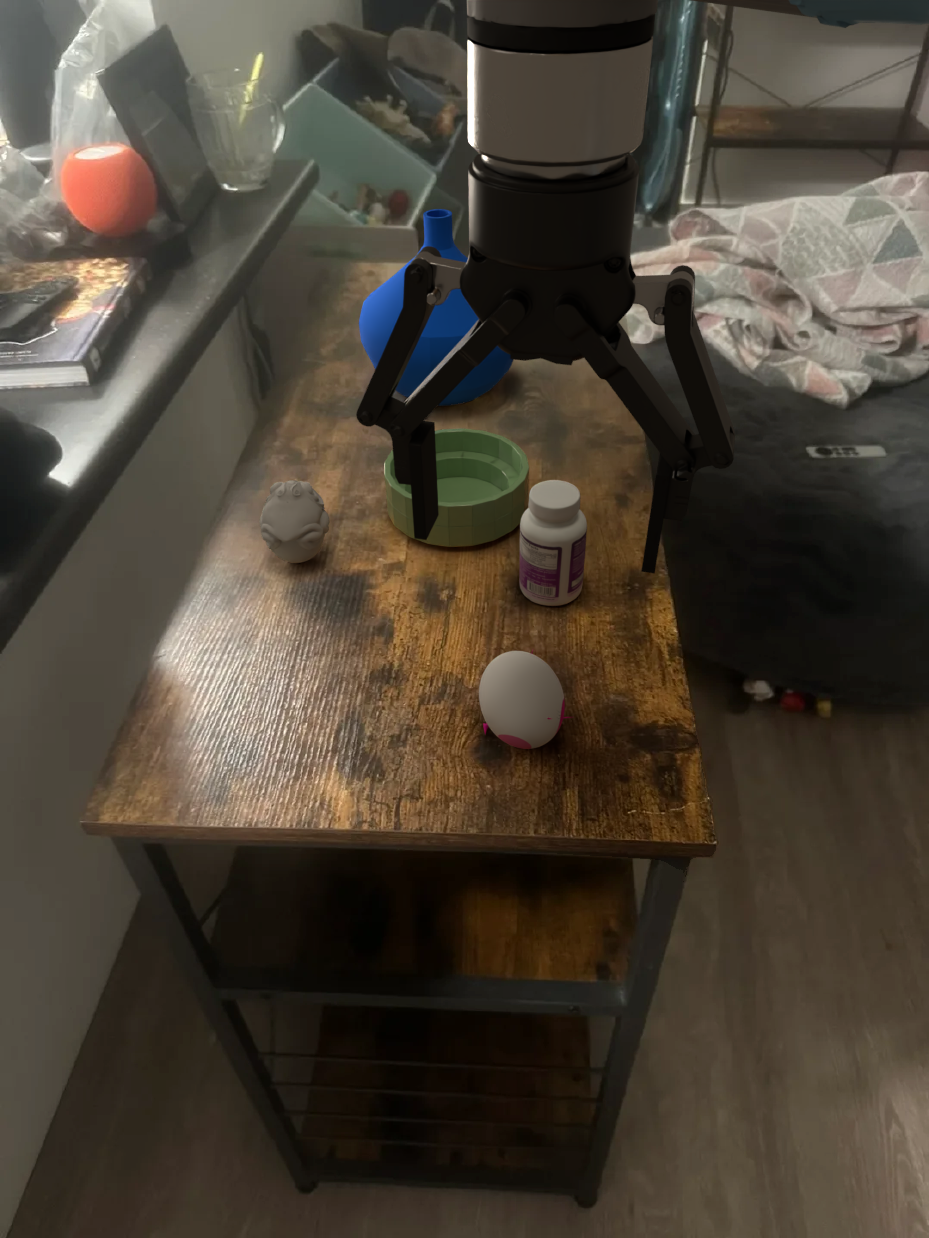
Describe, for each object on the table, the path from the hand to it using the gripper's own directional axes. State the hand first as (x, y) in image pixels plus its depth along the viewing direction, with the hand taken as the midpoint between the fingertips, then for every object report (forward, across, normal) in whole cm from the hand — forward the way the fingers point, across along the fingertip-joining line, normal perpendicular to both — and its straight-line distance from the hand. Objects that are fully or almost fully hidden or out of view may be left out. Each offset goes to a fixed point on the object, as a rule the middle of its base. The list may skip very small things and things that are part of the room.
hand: (535, 542), depth 53 cm
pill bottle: (+16, +1, -15) cm, 23 cm away
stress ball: (+16, 0, 0) cm, 17 cm away
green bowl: (+16, +12, -25) cm, 32 cm away
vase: (+17, +20, -49) cm, 55 cm away
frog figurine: (+17, +24, -15) cm, 33 cm away
